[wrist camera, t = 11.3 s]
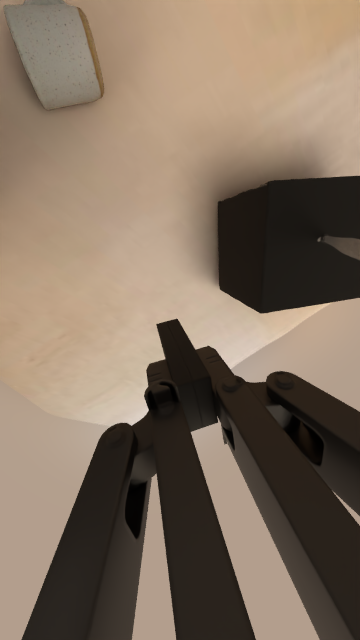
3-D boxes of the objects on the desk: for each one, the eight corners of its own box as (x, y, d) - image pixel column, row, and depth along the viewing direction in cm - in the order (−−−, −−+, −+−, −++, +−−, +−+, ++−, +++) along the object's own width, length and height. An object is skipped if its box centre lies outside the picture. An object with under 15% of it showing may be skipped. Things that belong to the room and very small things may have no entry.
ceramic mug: (110, 110, 30) (103, 71, 23) (52, 122, 29) (27, 85, 22) (78, 2, 26) (58, -87, 19) (10, 12, 25) (-37, -76, 18)
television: (322, 306, 46) (304, 216, 47) (635, 250, 17) (566, 13, 18) (222, 321, 42) (205, 223, 44) (395, 284, 13) (329, -20, 14)
